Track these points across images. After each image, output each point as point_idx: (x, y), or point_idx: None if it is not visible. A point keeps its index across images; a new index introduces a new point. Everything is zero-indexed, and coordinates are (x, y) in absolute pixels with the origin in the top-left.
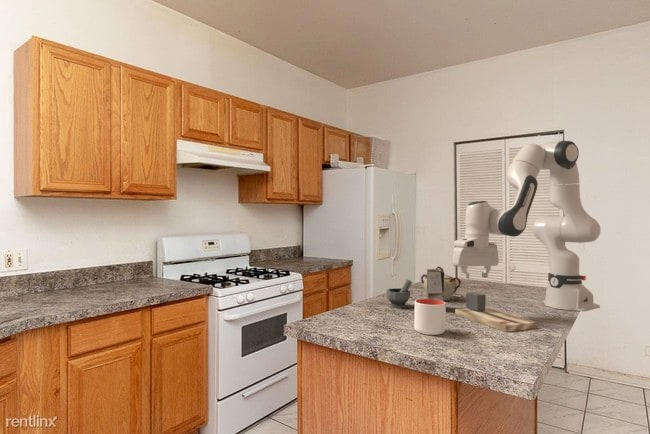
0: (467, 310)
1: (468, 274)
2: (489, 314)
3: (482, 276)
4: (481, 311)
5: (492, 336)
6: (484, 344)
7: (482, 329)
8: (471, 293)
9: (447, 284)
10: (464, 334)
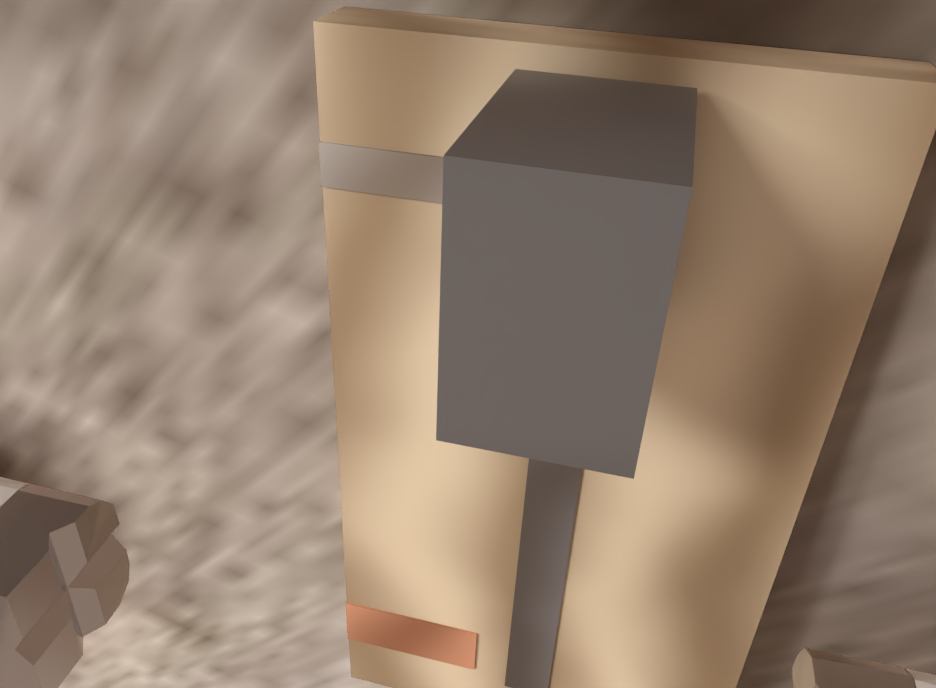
0: (427, 183)
1: (35, 672)
2: None
3: (803, 664)
4: None
5: (206, 627)
6: None
7: (245, 524)
8: (462, 285)
9: None
10: None
